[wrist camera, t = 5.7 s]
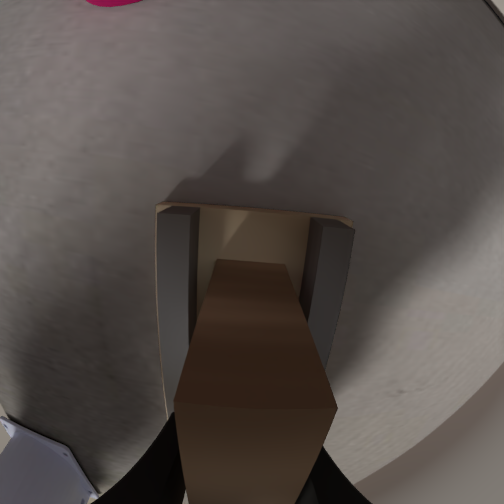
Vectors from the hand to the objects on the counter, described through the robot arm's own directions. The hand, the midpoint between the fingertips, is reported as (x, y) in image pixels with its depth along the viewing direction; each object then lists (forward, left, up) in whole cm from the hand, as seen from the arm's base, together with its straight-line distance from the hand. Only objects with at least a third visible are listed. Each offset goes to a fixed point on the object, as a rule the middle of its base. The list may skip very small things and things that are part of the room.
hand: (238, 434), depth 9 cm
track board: (0, 0, -4) cm, 4 cm away
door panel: (0, 0, -3) cm, 3 cm away
